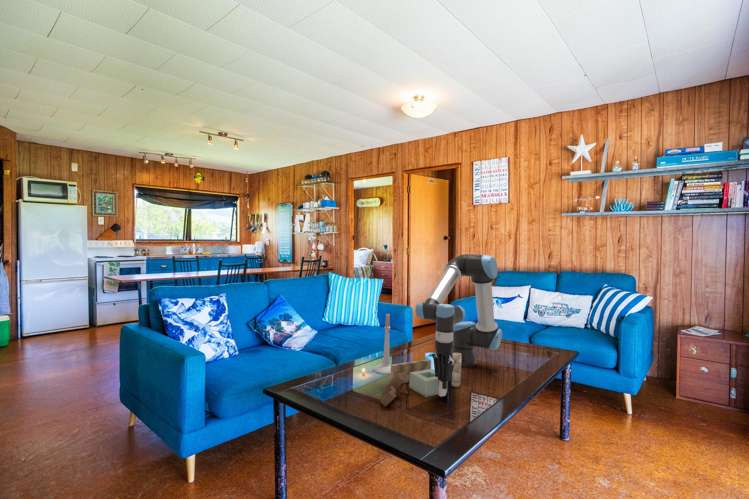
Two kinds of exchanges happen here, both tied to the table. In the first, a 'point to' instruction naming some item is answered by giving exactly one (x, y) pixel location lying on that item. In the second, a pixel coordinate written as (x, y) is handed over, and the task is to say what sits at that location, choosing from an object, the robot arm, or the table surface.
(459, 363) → the dowel
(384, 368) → the candlestick
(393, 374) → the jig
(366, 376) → the table surface
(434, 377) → the sliding block
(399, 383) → the wooden block set
